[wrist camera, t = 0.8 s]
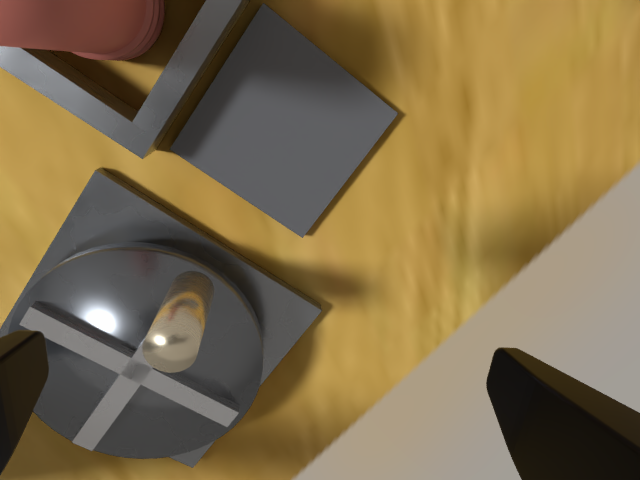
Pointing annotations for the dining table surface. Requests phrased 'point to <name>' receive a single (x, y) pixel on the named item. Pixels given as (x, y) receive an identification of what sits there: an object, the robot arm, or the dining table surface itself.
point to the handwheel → (143, 350)
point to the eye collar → (109, 111)
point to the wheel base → (173, 231)
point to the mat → (282, 124)
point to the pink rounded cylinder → (83, 26)
